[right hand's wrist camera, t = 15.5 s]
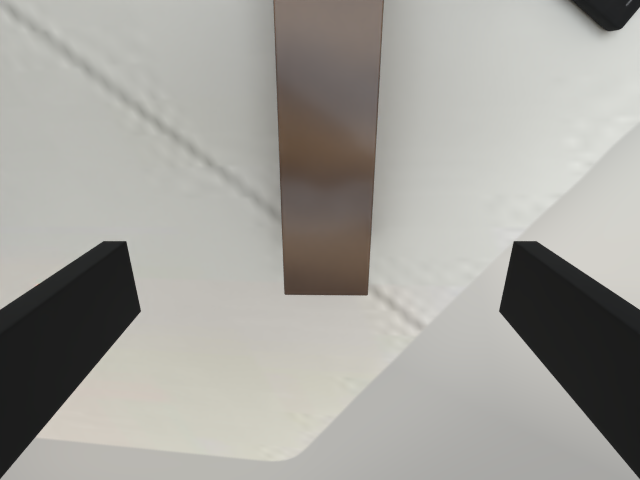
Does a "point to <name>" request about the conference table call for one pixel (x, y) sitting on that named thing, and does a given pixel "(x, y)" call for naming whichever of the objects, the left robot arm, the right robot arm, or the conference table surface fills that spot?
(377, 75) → the bar
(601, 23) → the handheld gaming console
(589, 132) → the conference table surface
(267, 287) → the conference table surface
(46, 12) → the conference table surface
